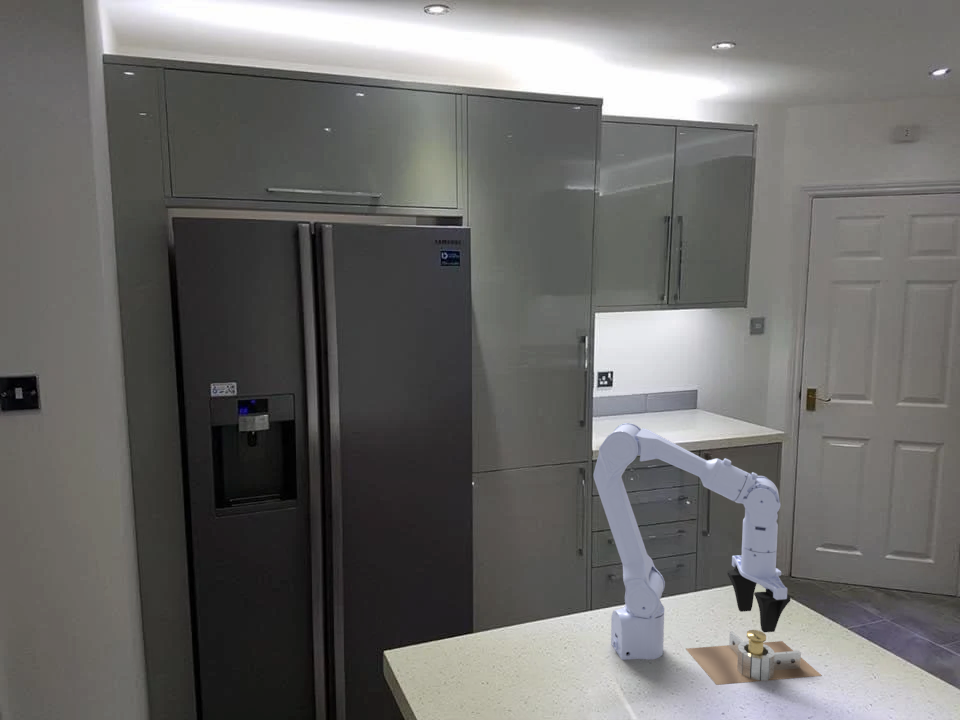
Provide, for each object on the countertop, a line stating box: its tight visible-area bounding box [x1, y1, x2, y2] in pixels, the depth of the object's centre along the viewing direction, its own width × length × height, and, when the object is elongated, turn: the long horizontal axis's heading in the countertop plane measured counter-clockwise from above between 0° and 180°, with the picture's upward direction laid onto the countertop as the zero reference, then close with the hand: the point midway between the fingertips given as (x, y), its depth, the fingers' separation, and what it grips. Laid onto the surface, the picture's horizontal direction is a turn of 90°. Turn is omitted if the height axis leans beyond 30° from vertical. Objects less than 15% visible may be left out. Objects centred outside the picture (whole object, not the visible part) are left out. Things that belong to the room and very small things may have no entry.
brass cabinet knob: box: [746, 629, 767, 656], centre depth 119 cm, size 3×3×7 cm
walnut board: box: [685, 640, 822, 686], centre depth 122 cm, size 20×12×1 cm, turn 98°
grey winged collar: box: [728, 630, 802, 682], centre depth 122 cm, size 12×12×4 cm
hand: (756, 620), depth 119 cm, fingers open, 7 cm apart
